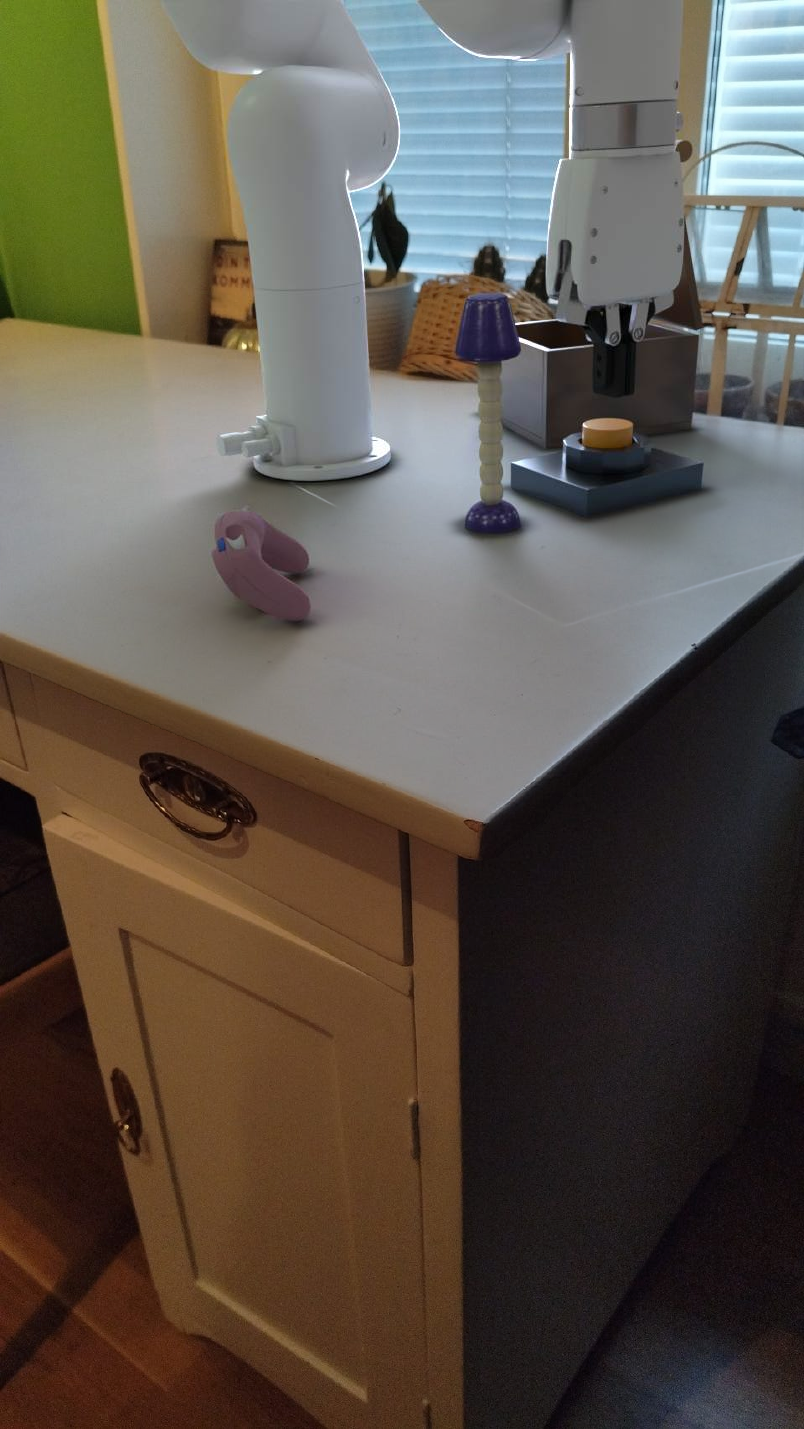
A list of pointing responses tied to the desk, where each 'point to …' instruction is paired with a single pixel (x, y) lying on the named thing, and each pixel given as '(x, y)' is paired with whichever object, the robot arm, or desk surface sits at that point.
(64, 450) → the desk surface
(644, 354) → the brown square box
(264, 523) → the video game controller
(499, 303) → the toy lamp
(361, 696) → the desk surface
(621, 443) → the button
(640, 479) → the control block
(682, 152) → the lid
